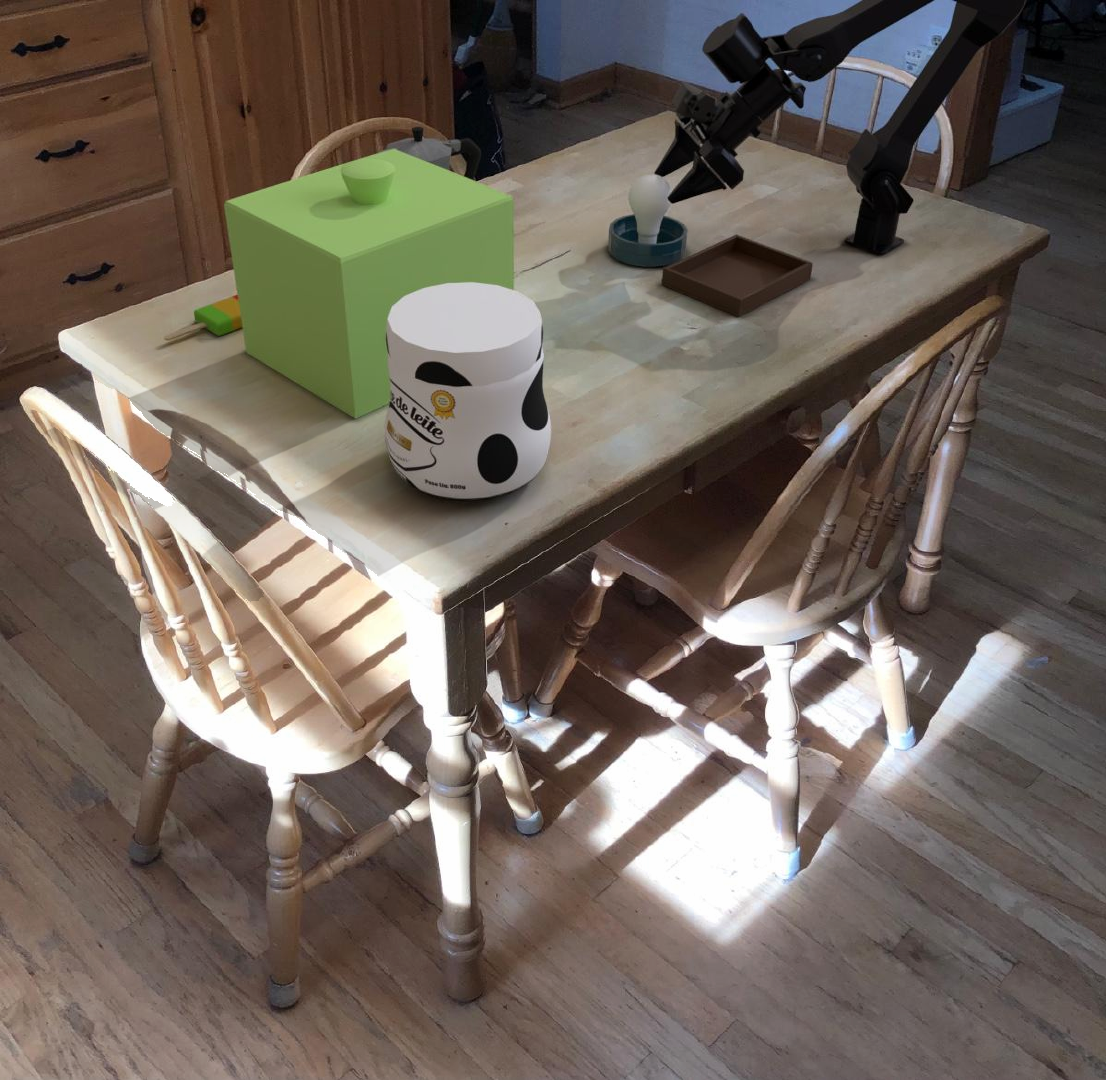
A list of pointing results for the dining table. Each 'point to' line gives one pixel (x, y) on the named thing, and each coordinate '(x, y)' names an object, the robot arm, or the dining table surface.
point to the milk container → (466, 391)
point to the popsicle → (214, 318)
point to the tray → (737, 274)
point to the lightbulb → (649, 205)
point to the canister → (357, 264)
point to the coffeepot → (438, 150)
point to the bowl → (640, 254)
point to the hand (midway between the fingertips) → (662, 188)
